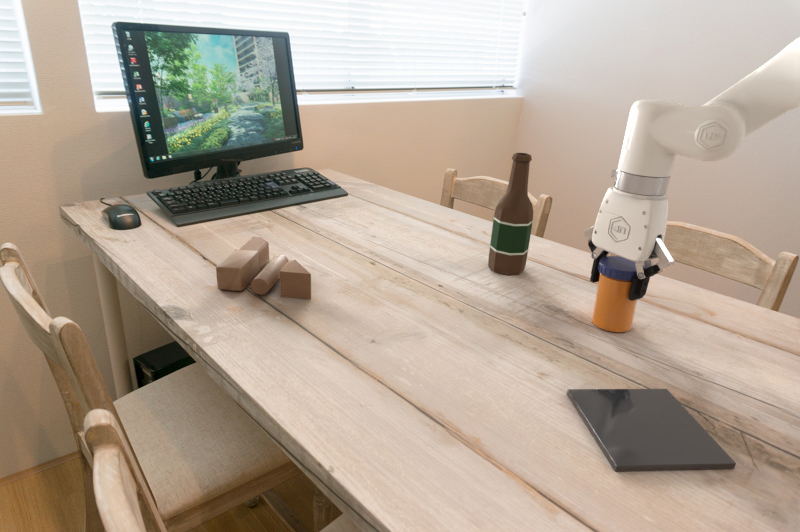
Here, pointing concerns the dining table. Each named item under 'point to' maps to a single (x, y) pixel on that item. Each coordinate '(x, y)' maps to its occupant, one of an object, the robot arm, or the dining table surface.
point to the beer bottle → (512, 222)
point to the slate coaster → (647, 430)
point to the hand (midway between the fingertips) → (615, 288)
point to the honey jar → (613, 305)
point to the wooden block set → (247, 265)
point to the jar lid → (617, 268)
